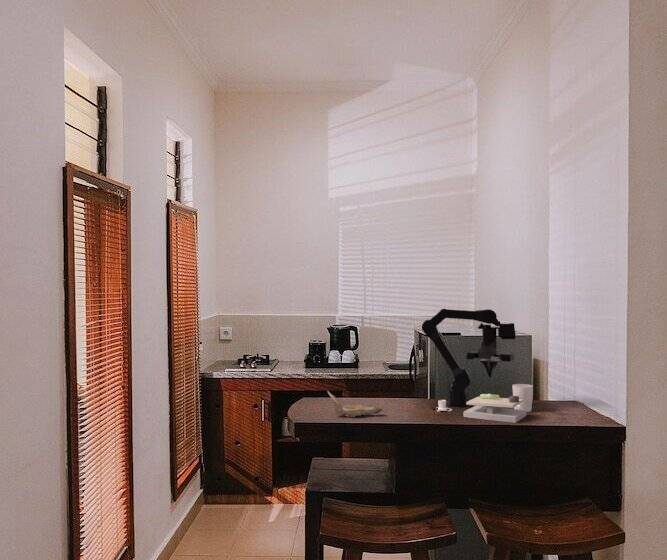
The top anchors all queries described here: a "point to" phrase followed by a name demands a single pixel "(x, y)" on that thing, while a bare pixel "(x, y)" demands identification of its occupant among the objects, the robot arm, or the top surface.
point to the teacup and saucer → (442, 405)
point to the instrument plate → (495, 401)
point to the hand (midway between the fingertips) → (490, 377)
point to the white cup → (523, 396)
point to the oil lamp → (353, 408)
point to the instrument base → (495, 413)
